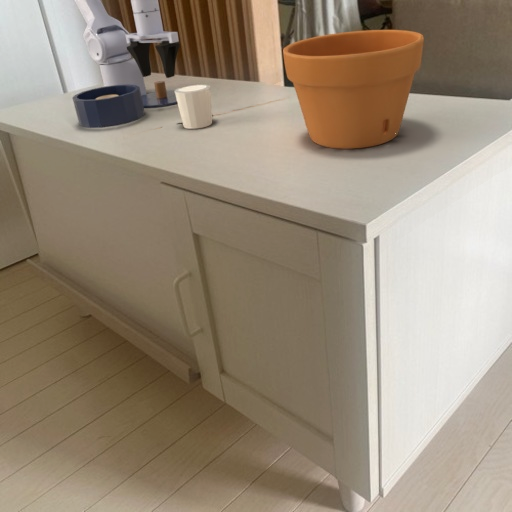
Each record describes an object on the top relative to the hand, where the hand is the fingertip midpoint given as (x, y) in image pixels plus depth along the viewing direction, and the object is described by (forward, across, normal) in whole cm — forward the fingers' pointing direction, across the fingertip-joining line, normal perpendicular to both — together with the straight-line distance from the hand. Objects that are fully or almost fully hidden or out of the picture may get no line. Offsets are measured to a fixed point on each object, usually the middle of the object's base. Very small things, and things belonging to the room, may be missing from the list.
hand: (158, 76), depth 123 cm
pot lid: (+5, 0, 0) cm, 5 cm away
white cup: (+6, +22, -12) cm, 26 cm away
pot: (+6, 0, -16) cm, 17 cm away
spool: (+5, 0, -16) cm, 17 cm away
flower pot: (+6, +54, -10) cm, 55 cm away
